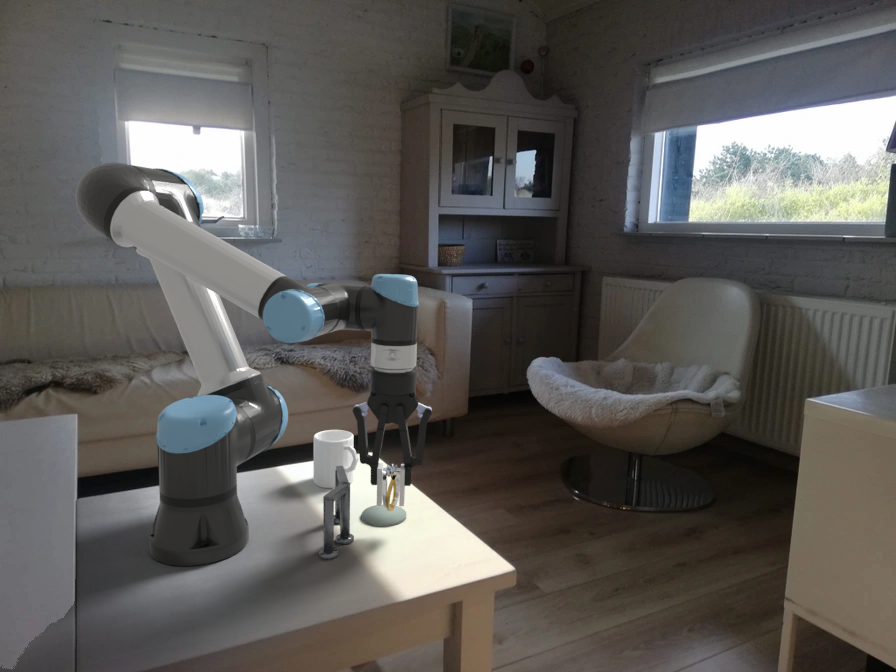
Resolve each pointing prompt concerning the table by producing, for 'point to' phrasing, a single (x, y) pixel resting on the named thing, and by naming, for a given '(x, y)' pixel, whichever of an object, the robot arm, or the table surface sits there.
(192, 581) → the table surface
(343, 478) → the bent grey rail
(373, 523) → the felt coaster
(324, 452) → the mug
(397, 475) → the ring
